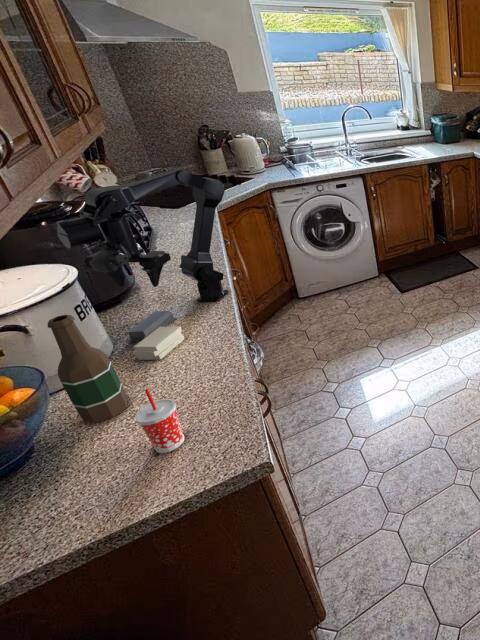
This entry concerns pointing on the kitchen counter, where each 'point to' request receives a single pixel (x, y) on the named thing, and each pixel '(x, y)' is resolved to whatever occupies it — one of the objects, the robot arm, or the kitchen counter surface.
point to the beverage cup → (161, 424)
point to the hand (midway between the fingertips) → (139, 286)
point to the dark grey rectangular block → (150, 325)
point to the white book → (157, 339)
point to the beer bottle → (87, 374)
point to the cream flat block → (161, 352)
